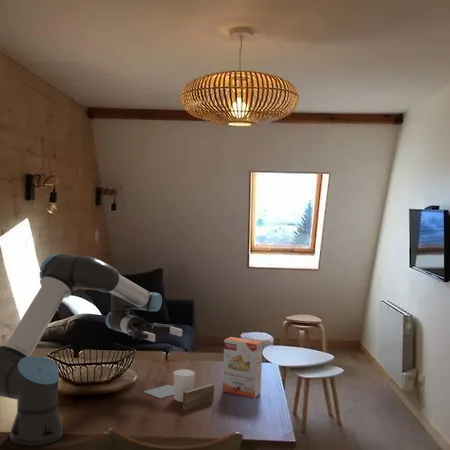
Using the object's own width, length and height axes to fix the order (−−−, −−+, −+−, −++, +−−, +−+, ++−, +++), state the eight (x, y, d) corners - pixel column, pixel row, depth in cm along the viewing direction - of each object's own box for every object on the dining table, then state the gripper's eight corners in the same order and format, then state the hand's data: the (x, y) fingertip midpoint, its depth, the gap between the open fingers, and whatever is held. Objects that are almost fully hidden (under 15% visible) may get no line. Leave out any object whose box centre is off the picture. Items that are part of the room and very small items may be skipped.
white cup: (190, 403, 208) (191, 376, 207) (170, 401, 209) (170, 374, 209) (196, 396, 215) (197, 370, 215) (176, 394, 217) (177, 368, 217)
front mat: (186, 391, 221) (186, 390, 221) (160, 398, 211) (160, 398, 211) (169, 385, 228) (169, 384, 228) (143, 392, 218) (143, 391, 218)
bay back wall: (213, 400, 211) (214, 384, 211) (185, 409, 201) (186, 392, 201) (210, 399, 212) (211, 383, 212) (182, 408, 202) (183, 391, 202)
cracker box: (221, 392, 222) (223, 338, 221) (228, 388, 227) (230, 335, 226) (254, 399, 215) (256, 344, 214) (261, 394, 220) (263, 341, 220)
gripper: (157, 330, 242) (191, 340, 227) (108, 339, 224) (142, 350, 209) (157, 313, 242) (192, 321, 227) (108, 320, 224) (142, 330, 209)
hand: (168, 335), depth 218 cm, fingers open, 13 cm apart
